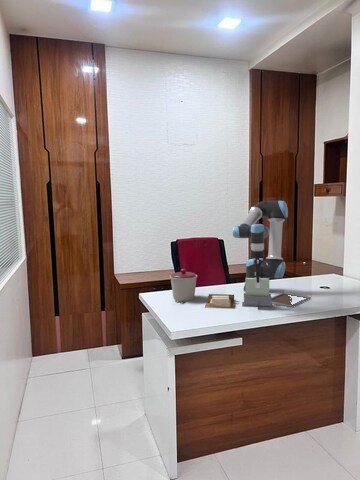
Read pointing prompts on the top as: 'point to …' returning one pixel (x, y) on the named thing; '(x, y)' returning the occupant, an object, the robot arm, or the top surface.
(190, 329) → the top surface
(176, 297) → the canister
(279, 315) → the top surface
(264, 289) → the panel
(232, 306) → the rack
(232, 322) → the top surface
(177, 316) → the top surface
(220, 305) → the offcut lower
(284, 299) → the grey brown flat board
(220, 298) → the offcut upper
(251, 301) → the stand
